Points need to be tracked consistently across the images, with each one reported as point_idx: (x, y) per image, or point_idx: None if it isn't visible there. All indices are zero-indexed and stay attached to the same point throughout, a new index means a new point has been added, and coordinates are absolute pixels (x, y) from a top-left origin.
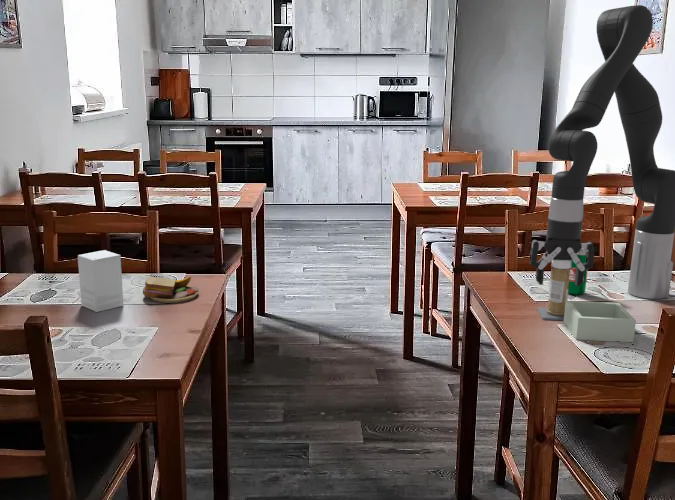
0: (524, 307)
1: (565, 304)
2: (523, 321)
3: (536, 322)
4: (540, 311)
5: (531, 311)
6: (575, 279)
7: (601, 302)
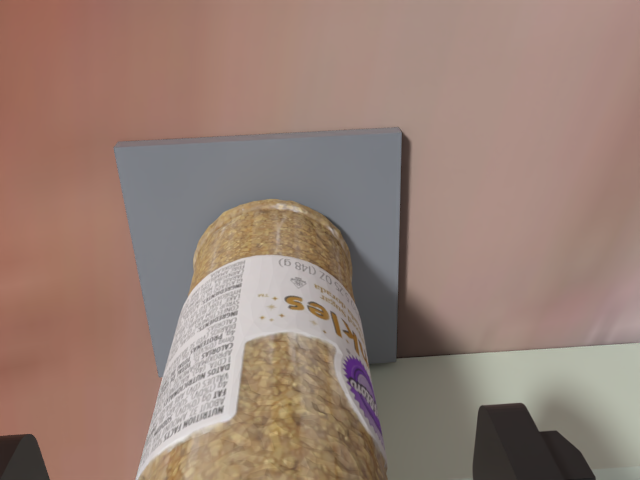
0: (3, 103)
1: None
2: (28, 420)
3: (118, 420)
4: (145, 252)
5: (75, 203)
6: (499, 465)
7: (628, 472)
